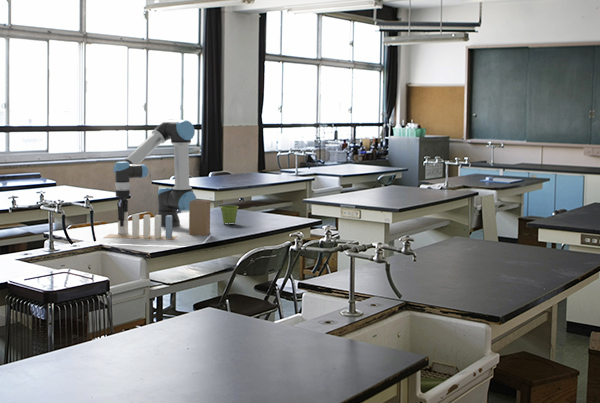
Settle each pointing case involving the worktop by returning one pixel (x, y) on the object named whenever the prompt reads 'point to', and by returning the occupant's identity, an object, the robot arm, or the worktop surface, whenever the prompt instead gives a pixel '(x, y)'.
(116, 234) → the oak board
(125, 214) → the tile
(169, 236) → the tile
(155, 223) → the tile
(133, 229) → the tile
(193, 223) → the wooden block
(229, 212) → the plant pot
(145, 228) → the tile
